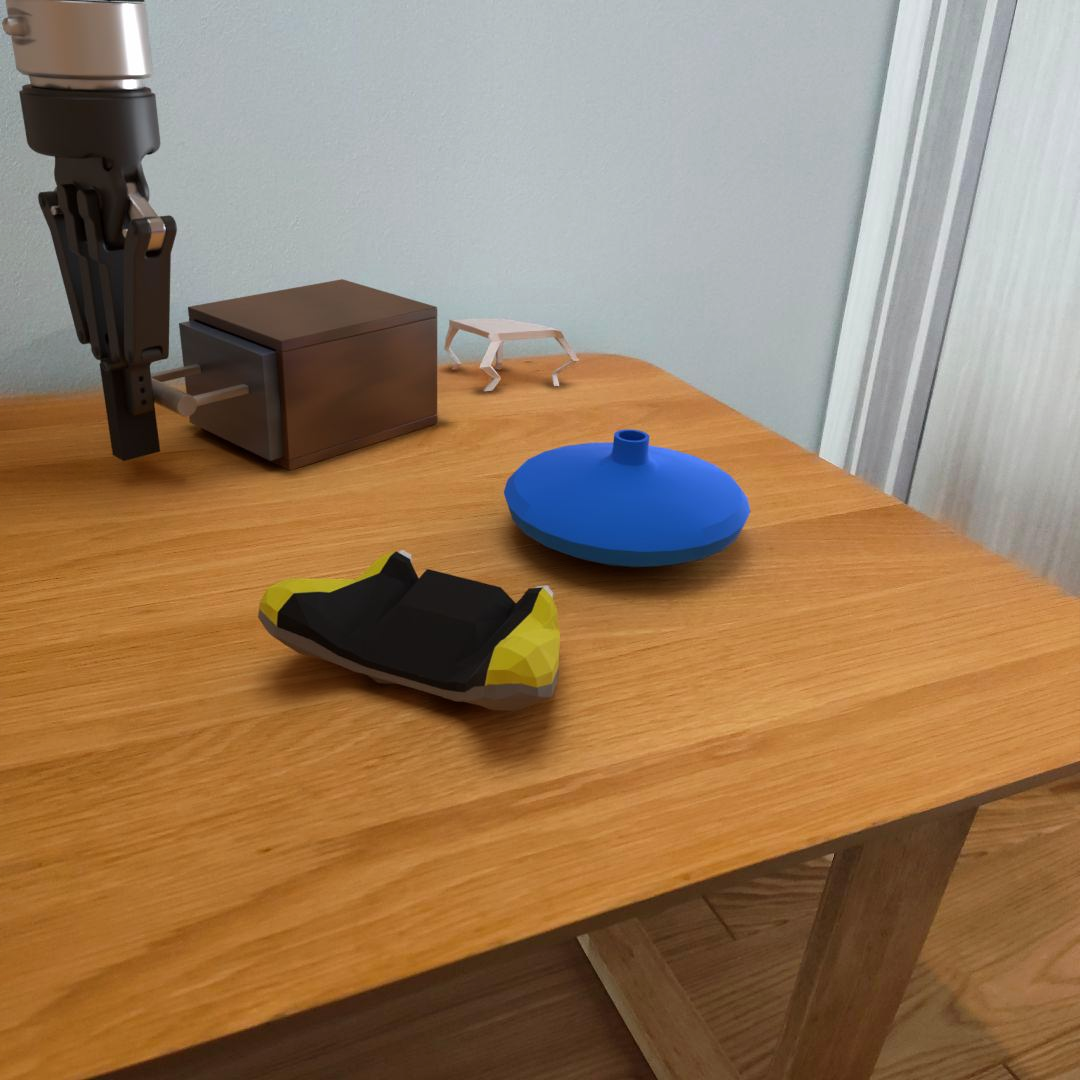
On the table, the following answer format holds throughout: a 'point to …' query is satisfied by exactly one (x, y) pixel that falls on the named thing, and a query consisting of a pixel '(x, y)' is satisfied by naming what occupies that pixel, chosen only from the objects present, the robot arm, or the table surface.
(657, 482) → the vase
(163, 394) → the drawer
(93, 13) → the robot arm
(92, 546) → the table surface
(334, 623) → the black and yellow shoe
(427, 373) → the cabinet
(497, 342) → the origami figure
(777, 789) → the table surface
